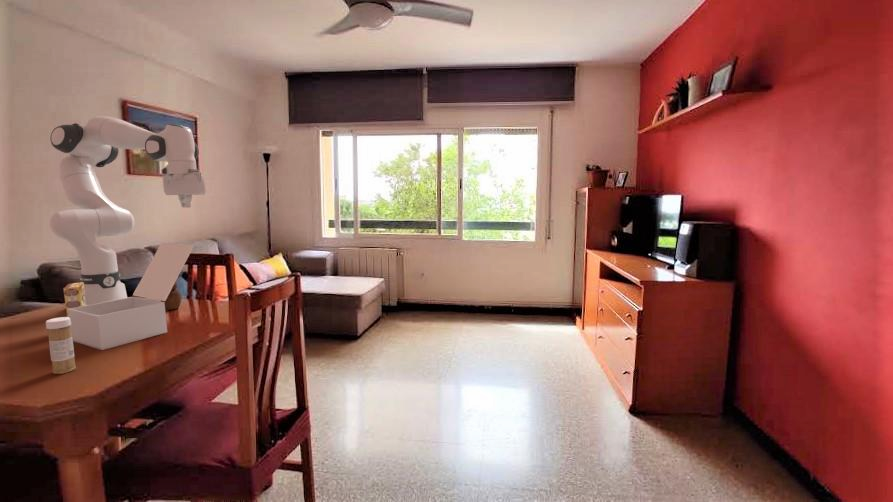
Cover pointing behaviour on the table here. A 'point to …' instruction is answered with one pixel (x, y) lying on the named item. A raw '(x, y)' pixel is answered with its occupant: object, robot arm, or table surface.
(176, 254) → the carton flap
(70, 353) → the sprinkles bottle
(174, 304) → the wooden figurine
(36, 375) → the table surface
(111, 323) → the carton
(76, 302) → the candy box
